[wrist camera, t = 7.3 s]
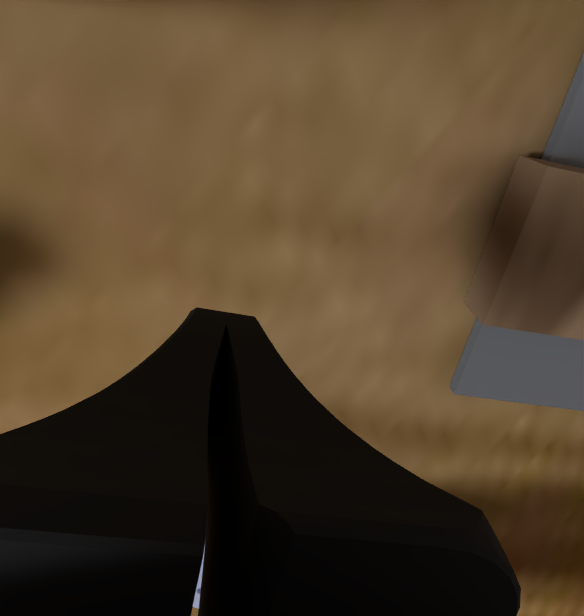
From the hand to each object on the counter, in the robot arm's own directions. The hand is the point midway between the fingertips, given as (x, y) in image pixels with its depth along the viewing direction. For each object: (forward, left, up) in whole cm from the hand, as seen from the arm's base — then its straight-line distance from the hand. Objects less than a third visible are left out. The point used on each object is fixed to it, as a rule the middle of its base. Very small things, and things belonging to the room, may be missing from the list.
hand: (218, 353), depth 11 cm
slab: (+1, -10, -8) cm, 13 cm away
